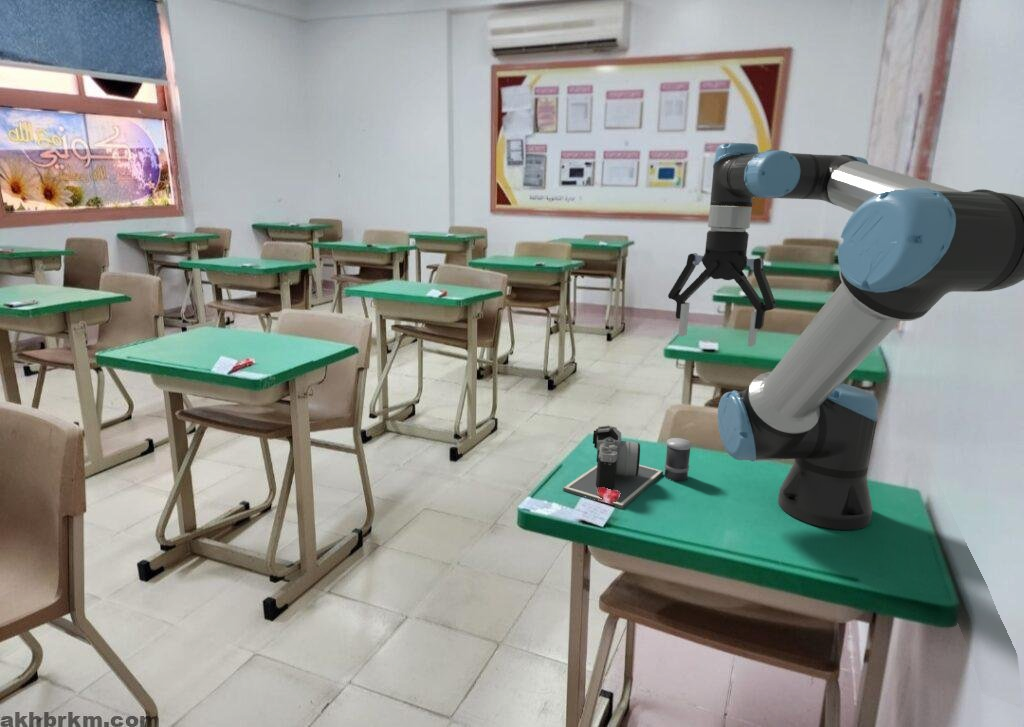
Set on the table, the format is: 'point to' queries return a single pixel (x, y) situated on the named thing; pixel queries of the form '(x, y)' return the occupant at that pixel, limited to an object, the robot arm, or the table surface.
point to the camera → (614, 456)
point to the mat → (624, 484)
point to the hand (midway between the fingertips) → (715, 340)
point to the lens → (677, 459)
